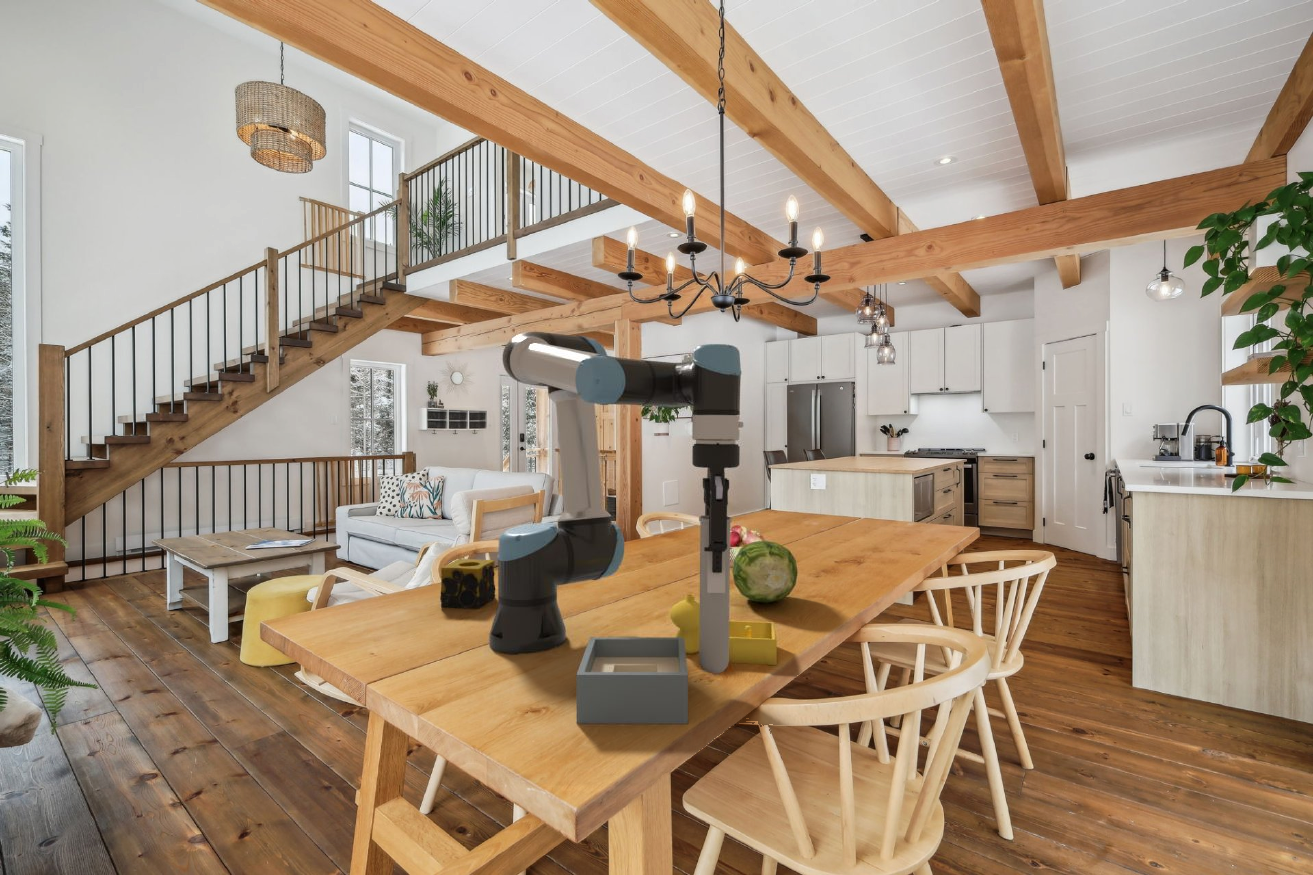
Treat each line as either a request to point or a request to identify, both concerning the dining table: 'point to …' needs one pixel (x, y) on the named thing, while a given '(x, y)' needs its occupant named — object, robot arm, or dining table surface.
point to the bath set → (744, 636)
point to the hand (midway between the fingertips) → (714, 587)
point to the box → (633, 681)
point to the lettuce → (764, 571)
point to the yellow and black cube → (467, 584)
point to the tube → (713, 609)
